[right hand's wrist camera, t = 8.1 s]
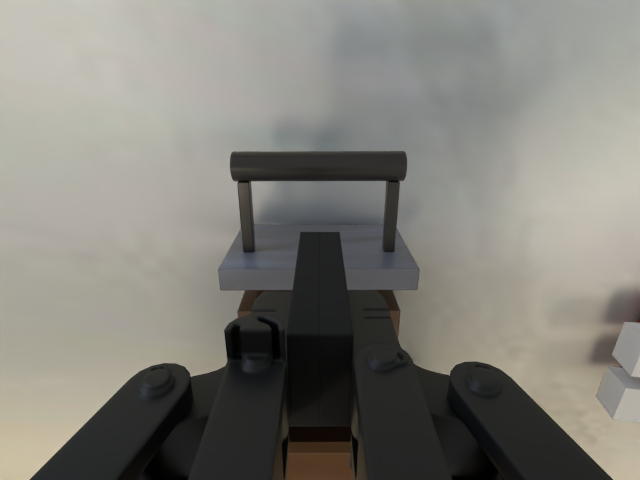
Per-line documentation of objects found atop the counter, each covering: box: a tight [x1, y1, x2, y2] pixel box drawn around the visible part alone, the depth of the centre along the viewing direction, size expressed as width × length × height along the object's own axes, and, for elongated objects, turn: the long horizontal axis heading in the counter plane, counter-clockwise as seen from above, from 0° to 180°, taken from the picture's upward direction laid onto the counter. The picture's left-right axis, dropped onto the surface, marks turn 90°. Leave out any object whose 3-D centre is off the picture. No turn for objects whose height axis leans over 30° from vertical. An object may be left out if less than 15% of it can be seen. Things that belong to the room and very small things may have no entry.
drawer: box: [218, 151, 419, 442], centre depth 24 cm, size 22×10×7 cm, turn 0°
